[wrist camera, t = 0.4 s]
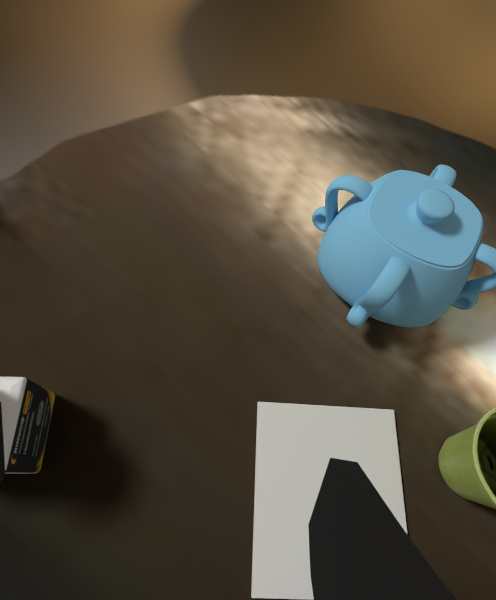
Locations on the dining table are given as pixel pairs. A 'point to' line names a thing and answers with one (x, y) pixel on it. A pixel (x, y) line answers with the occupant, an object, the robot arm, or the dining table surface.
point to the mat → (311, 482)
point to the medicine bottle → (24, 423)
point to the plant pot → (472, 461)
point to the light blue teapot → (402, 247)
